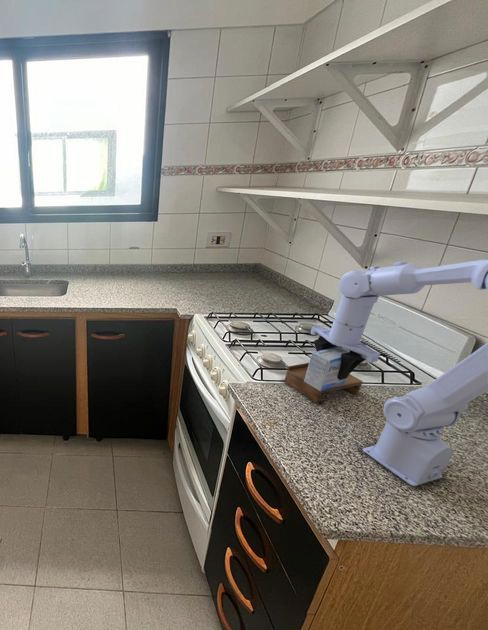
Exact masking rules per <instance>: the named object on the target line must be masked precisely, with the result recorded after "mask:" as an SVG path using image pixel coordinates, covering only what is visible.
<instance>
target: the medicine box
mask: <svg viewBox="0 0 488 630" xmlns="http://www.w3.org/2000/svg"><path fill="white" fill-rule="evenodd" d="M349 352H350V351H348V350H346V349H344V348H342V347H339V346H336V347H332V348H328V349H324V350H321V351H317V350H316V351H313V352H312V353H311V355H310V357H309V358H310V359H309V362H308V363H309V365H308V369H307V372H306V376H305V379H304V382H306V383H307V384H309V385H311V386H312V387H314V388H316V389H317V390H319V391H323V390H326V389H329V388H332V387H335V386H338V385H342V384H344V383H345V380H346V379H342V380H339V379H338V378H337V377H338V372H339V370H340V366H341V354H343V353H349Z"/></svg>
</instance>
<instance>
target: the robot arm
mask: <svg viewBox="0 0 488 630" xmlns="http://www.w3.org/2000/svg"><path fill="white" fill-rule="evenodd" d="M465 283H470V284H472V285H473V286H474V287H475V288H476V289H477V290H486V291H487V292H488V259H477V260H471V261H464V262H458V263H452V264H445V265H439V266H433V267H427V268H425V267H424V268H423V267H421V266H420V265H418V264H416V263H408V261H397V262H394V263H393V265H392V266H391V265H390V266H384V267H380V266H379V265H378V266H377V265H376V266H370V267H369V269H367V270H366V269H365V270H355V269H354V270H351V271H348V272H345V273H344V274H343V275H342V276H341V277H340V279H339V283H338V287H339V290H340V291H339V292H341V298H340V299H339V304H338V307H337V309H336V313H335V315H334V318H333V322H332V325H331V328H330V329H329V328H325V327H323V326H320V325H315V326H312V327H311V329H310V334H311V335H312V336H318V338H317V339H314V340H313V344H314V347H315V350H316V352H317V351H321V350H324V349H328V348H332V347H336V346H338V347H340V348H343V349H345V350H347V351H349V353H343V354H341V366H340V370H339V372H338V377H337V378H338V379H339V380H342V379H346V378H347V377H348V375H349V374H350V375H351V373H352V372H353V371H354V370H355V369H356V368H357V367H358V366H359V365H361V364H362V363H363V362H365V361H366V362H368V363H370V364H371V363H375V362H378V360H379V359H380V355H381V354H380V353H379V352H378V351H376V350H374V349H372V348H371V347H369V346H368V345H367V344H365V343H363V342H362V341H361V339H362V337H363V334H364V332H365V329H366V327H367V323H368V321H369V318H370V315H371V313H372V310H373V308H374V305H375V304H376V303H377V302H378V300H379V298H380V297H381V296H383V297H384V296H398V295H399V296H400V295H411V294H412V295H413V294H416V293H419V292H420V291H422V290H423V288H424V287H425V286H435V285H438V286H439V285H450V284H451V285H453V284H465ZM486 392H488V342H487V343H485V344H484V345H482V346H481V347H479V348H477V349H476V350H475V351H474V352H472V353H471V354H469V355H468V356H466V357H464V359H462V360H460V362H458V363H457V364H455V365H454V366H452V367H451V368H450V369H448V370H447V371H445V372H444V373H442V374H441V375H439V376H438V377H437V378H436V379H434V380H433V381H431V382H430V383H428V384H427V385H425V386H422V387H420V388H417V389H414V390H412V391H409V392H407V393H406V394H405V395H403V396H399V397H391V398H389V399H388V400H386V401H385V402H384V404H383V407H382V408H383V409H382V410H383V415H384V417H385V419H386V420H385V424H384V427H383V429H382V431H381V434H380V436H379V438H378V439H377V441H376V444H374V445H370V446H367V447H364V448H362V452H363V453H364V454H366V455H368V456H369V457H370V458H372V459H374V460H375V461H376V462H378V463H379V464H380V465H382V466H383V467H385V468H386V469H387V470H388V471H390V472H391V473H393V474H394V475H396V476H397V477H398V478H400V479H401V480H402V481H404V482H405V483H406V484H408V485H410V486H411V487H417V486H420V485H423V484H427V483H429V482H432V481H435V480H439V479H442V478H443V472H444V470H445V468H446V467H447V465H448V464H449V462H450V460H451V459H452V457H453V454H454V448H453V447H451V446H450V445H449V444H448V443H446V441H444V440H443V439H442V438H441V436H440V435H441V434H442V432H443V429H444V428H445V427H451V426H454V425H455V424H456V423H457V422H458V421H459V420H460V417H461V414H462V413H463V412H465V411H467V410H468V409H469V405H468V404H469V403H470V402H471V401H473V400H475V399H477V398H478V397H480V396H481V395H483V394H485V393H486Z"/></svg>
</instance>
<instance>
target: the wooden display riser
mask: <svg viewBox="0 0 488 630" xmlns="http://www.w3.org/2000/svg"><path fill="white" fill-rule="evenodd" d="M308 365H309V362H304V363H299V364H294V365H289V366H287V370H286V374H285V377H284V381H283V382H284V383H286V384H287V385H288V386H290V387H291V388H293V389H294V390H296V391H298V392H299V393H301V394H302V395H304V396H305V397H306V398H308V399H309V400H311V401H312V402H313V403H315V404H319V403H320V401H321V398H322V395H323V393H329V392H332V391H338V390H342V389H345V390H346V391H348V392H350V393H352V394H353V395H359V393H360V390H361V388H362V385H363V383H364V381H363V380H361V379H360V378H358V377H356V376H354V375H353V374H351V373H350V374H349V375H348V377H347V378H346V380H345V383H344V384H342V385H338V386H335V387H332V388H329V389H326V390H323V391H319V390H317V389H316V388H314V387H312V386H311V385H309V384H307V383H306V382H304V379H305V376H306V372H307V369H308Z"/></svg>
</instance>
